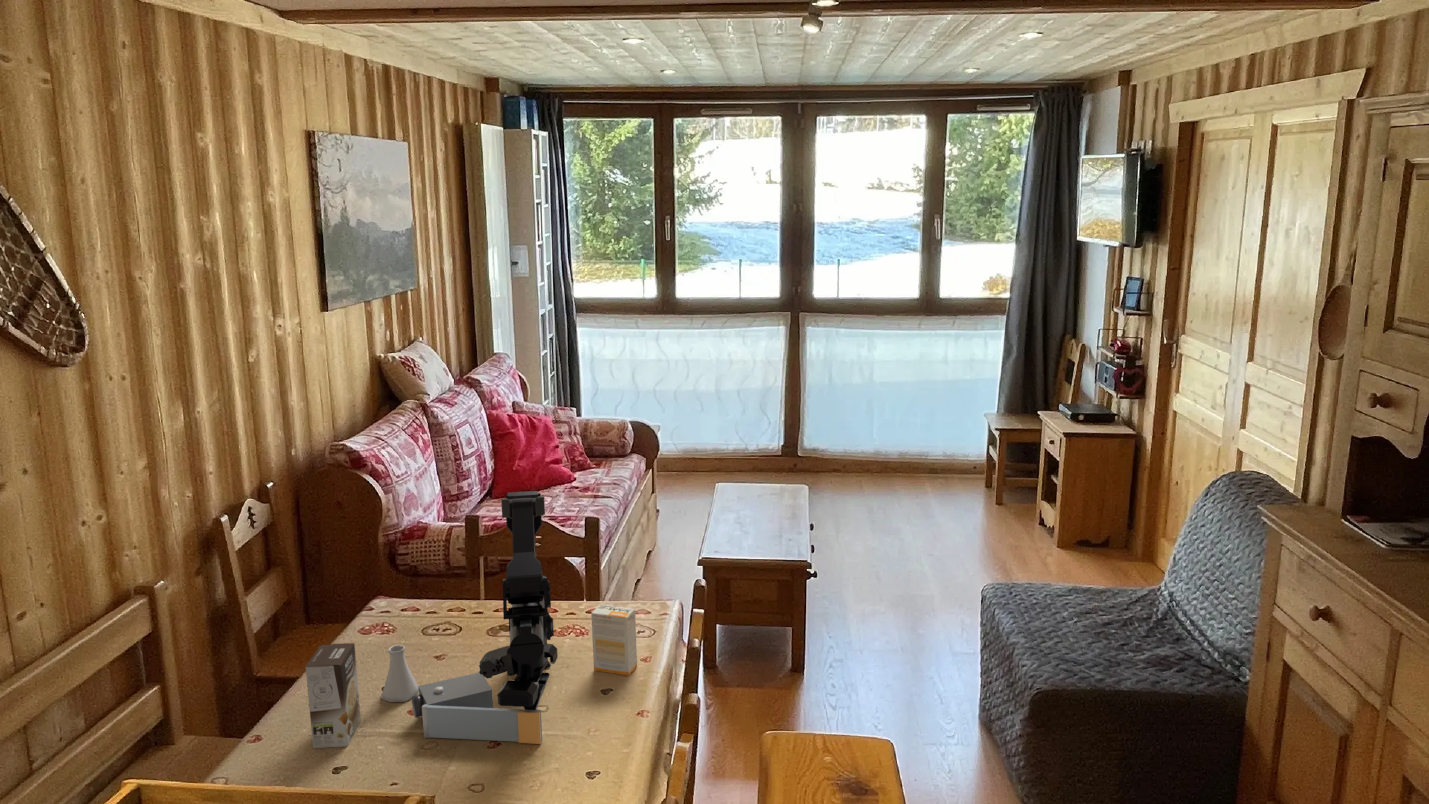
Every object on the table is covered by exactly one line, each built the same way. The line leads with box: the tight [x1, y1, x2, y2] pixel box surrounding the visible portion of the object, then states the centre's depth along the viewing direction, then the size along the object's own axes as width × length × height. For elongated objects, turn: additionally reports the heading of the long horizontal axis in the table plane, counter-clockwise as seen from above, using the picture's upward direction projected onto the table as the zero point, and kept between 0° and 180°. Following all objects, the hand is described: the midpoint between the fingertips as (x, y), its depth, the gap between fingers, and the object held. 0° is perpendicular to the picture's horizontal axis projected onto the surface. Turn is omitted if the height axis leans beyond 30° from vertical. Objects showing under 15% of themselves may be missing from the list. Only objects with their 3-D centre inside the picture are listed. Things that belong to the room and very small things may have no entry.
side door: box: [421, 705, 543, 745], centre depth 180 cm, size 22×1×6 cm, turn 84°
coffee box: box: [304, 642, 362, 749], centre depth 182 cm, size 9×6×16 cm
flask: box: [380, 644, 420, 703], centre depth 197 cm, size 7×7×10 cm
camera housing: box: [411, 672, 494, 720], centre depth 188 cm, size 14×8×7 cm, turn 117°
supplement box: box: [590, 604, 638, 677], centre depth 207 cm, size 8×5×13 cm, turn 71°
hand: (530, 716), depth 181 cm, fingers closed
